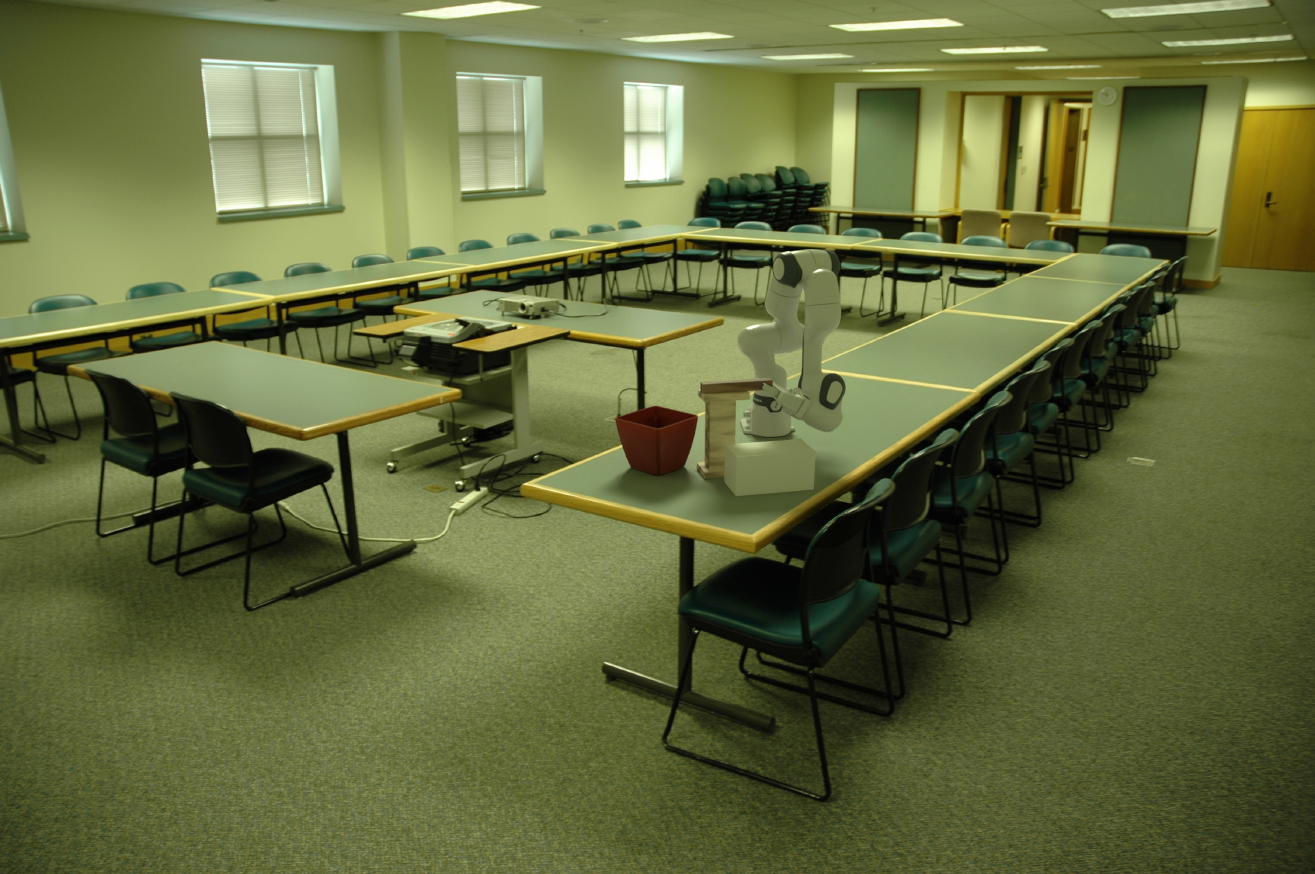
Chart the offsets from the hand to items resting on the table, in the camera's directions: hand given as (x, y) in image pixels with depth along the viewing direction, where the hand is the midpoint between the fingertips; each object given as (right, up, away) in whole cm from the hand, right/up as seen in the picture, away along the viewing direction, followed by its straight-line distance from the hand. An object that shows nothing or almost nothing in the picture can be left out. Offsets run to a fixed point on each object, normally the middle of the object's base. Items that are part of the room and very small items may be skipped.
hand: (759, 383), depth 281 cm
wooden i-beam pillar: (-11, -27, +6) cm, 30 cm away
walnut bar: (-7, -2, -1) cm, 7 cm away
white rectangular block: (+2, -31, -6) cm, 32 cm away
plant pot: (-31, -26, +11) cm, 42 cm away
